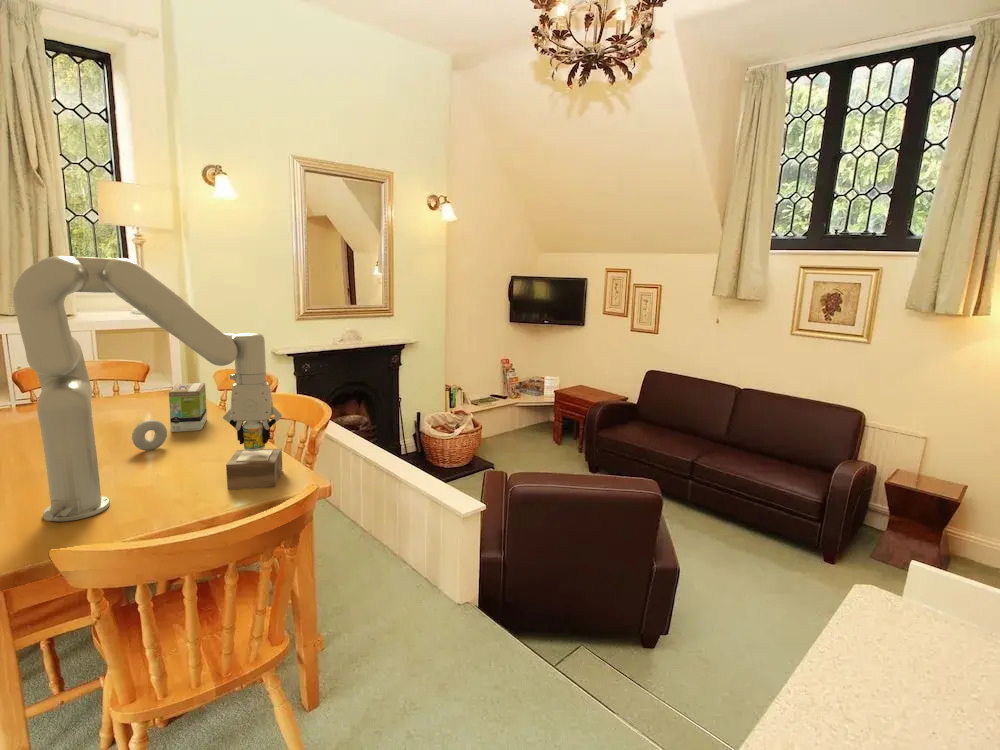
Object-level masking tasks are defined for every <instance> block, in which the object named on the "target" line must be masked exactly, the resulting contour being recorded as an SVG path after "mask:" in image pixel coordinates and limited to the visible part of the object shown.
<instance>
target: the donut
mask: <svg viewBox="0 0 1000 750" xmlns="http://www.w3.org/2000/svg"><path fill="white" fill-rule="evenodd" d="M132 431H133V432H132V433H131V440H132V443H133V445H134V446H135V447H136V448H137V449H139V450H141V451H146V452H147V451H148V452H149V451H153V450H157V449H159V448H160V447H161V446H162V445H163V444H164V443H165V442H166V440H167V437H168V429H167V427H166V425H165V424H164V423H163V422H162V421H159V420H157V419H147V420H144V421H142V422H140V423H139V424H137V426H135V428H134V429H133V430H132ZM149 431H152V432H154V437H152V438H151V439H146V436H145V435H146V434H147V432H149Z"/></svg>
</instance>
